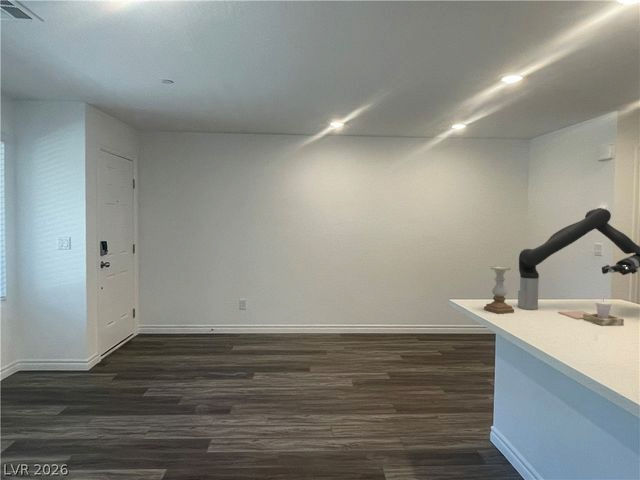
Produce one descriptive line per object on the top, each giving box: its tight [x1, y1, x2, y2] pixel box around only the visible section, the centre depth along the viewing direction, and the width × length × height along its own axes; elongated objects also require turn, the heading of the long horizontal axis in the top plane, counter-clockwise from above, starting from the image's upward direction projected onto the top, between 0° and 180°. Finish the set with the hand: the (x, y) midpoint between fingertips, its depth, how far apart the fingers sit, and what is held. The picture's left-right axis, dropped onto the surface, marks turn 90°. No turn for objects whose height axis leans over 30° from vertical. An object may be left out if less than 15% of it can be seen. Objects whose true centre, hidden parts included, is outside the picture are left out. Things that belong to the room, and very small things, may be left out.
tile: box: [557, 310, 591, 320], centre depth 210 cm, size 14×14×1 cm
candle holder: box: [483, 266, 515, 315], centre depth 220 cm, size 11×11×24 cm
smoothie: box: [595, 293, 612, 319], centre depth 196 cm, size 6×6×14 cm
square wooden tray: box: [582, 313, 625, 327], centre depth 196 cm, size 11×11×3 cm
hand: (613, 272), depth 204 cm, fingers open, 8 cm apart
